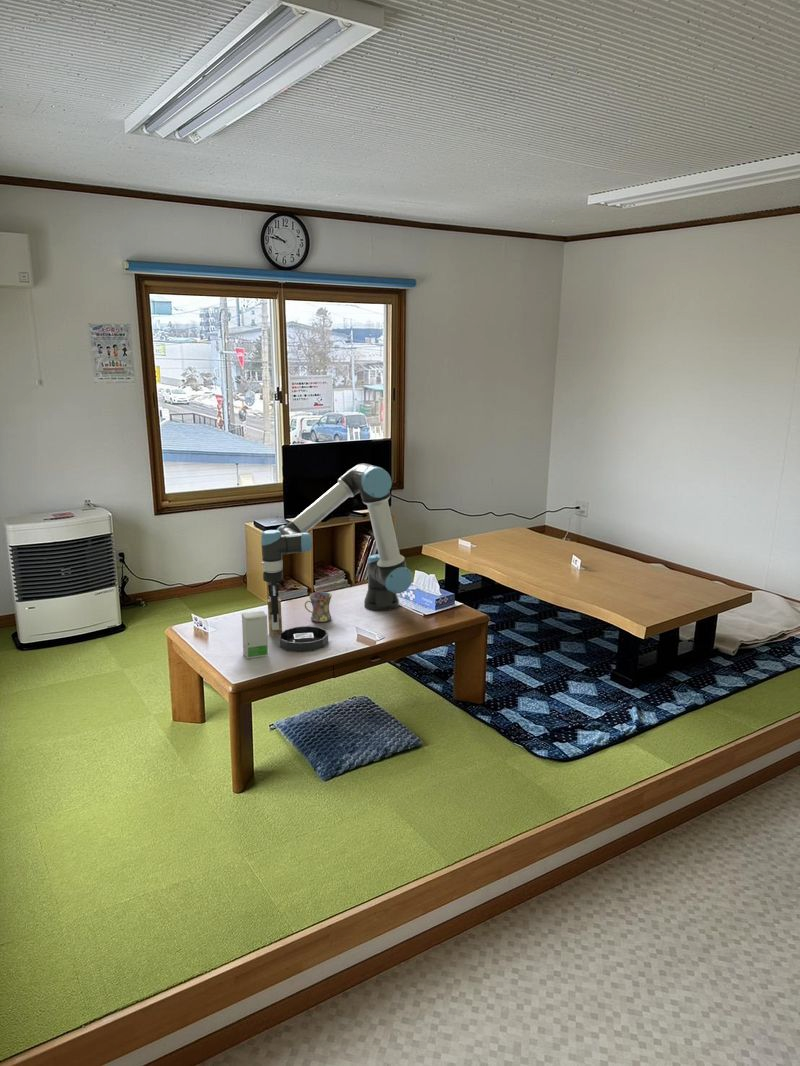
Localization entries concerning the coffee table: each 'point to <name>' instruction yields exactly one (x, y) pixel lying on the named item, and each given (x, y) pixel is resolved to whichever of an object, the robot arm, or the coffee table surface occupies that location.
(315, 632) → the dark grey round tray
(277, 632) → the brown cardboard box
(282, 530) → the robot arm
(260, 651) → the skincare box
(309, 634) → the wick clip
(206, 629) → the coffee table surface
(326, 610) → the mug
